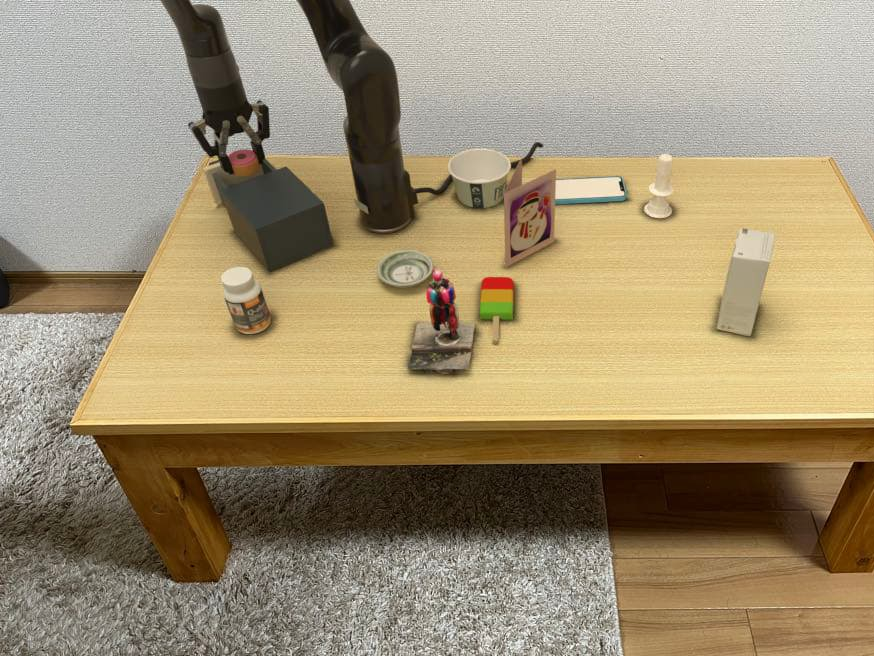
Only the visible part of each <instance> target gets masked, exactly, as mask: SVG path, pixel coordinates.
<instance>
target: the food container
mask: <svg viewBox="0 0 874 656" xmlns="http://www.w3.org/2000/svg"><path fill="white" fill-rule="evenodd" d="M511 169H512V167H511V161H510V159H509V157H508V156H506V155H505V153H502V152H500V151H498V150H494V149H490V148H470V149H467V150H463V151H460V152H458V153H456V154H455V155H453V156H452V157H451V158H450V159H449V161H448V163H447V170H448V173H449V175H452V178H453V180H452V181H453V186H454V189H455V193H456V196H457V199H458V200H459V202H460V203H461V204H463V205H464V206H466V207H469V208H475V209H486V208H490V207H494V206H496V205H498V204H499V203H501V202H502V201H503V200H504V192H505V190H506V188H507V181H508V175H509V173H510V171H511Z"/></svg>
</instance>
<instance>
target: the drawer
mask: <svg viewBox="0 0 874 656" xmlns="http://www.w3.org/2000/svg"><path fill="white" fill-rule="evenodd" d="M263 162H264V163H262V164H260V169H259V170H258V171H257V172H256V173H254V174H252V175H249V176H236V175H234V174H231V175H230V174H229V173H228V172H227V173H226V172H225V171H224V170H223V169H222V168H221V165H220V162H219V160H218V159H217V160H214V161H210V162H208V165H207V166H205V167H202V171H203V174H204V176H205V177H204V178H205V180H206V182H207V185H208V188H209V191H210V193H211V194H210V195H211V196H212V199H213V203H214V204H216V205H217V206H218V205H221V204H222V207H223V208H224V209H225V210H227V208H226V206H225V203H224V200H223V197H222V194H221V191H220V190H221V189H224V188H226V187H229V186H232V185H235V184H238V183H241V182H243V181H246V180H249V179H252V178H255V177H258V176H260V175H263V174H266V173H269V172H272V171H274V170H277V168H275V166H274V165H273V164H272V163H271V162H270V161H269V160H268V159H266V158H265V159H264V160H263Z"/></svg>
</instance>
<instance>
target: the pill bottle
mask: <svg viewBox="0 0 874 656" xmlns="http://www.w3.org/2000/svg"><path fill="white" fill-rule="evenodd" d="M220 280H221V284H222V286H223V290H222V295H223V296H222V297H223V299H224V302H225V304H226V306H227V310H228V312H229V314H230V317H231V319H232V322H233V325H234V327H235V329H236V330H237V331H238V332H240V333H241V334H244V335H255V334H258V333H261V332H263V331H265V330H266V329H267V328H268V327H269V326H270V324H271V322H272V317H271V314H270V313H271V312H270V310H269V308H268V304H267V301H266V298H265V295H264V292H263V289H262V286H261V284H260V283H259V282H258V281H257V280H256V279H255V276H254V274H253V271H252V270H251V269H250V268H248V267H246V266H235V267H234V266H233V267H230V268H228V269H227V270H225V271H224V272H223V273H222V275H221V276H220Z"/></svg>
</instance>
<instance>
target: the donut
mask: <svg viewBox="0 0 874 656" xmlns="http://www.w3.org/2000/svg"><path fill="white" fill-rule="evenodd" d="M228 157H229V160H230V163H231V166H232V169H233V172H234V175H236V176H249V175H252V174H254V173H256V172H257V171H258V170H259V169H260V164H259V161H258V158H257V155H256V154H255V153H254V152H253V150H252V149H247V148H245V149H244V148H243V149H238V150H235V151H233V152H231V153H230V154H229V155H228Z"/></svg>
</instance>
